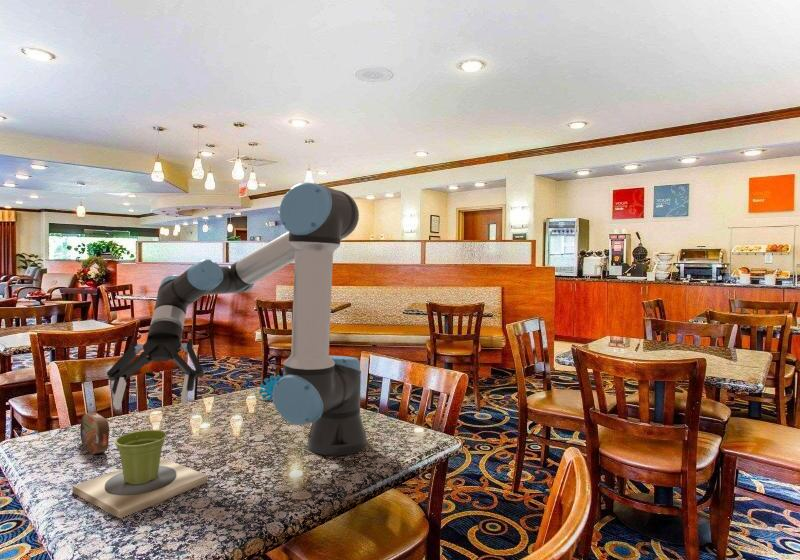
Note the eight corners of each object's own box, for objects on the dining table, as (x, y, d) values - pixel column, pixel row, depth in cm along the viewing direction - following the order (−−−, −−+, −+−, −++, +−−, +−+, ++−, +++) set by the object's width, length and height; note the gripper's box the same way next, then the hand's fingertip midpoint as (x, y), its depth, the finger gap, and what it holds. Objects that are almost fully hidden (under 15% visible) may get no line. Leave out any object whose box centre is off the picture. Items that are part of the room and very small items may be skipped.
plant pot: (118, 473, 101) (118, 432, 101) (167, 466, 105) (167, 427, 105) (111, 492, 93) (111, 448, 92) (165, 484, 96) (165, 442, 96)
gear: (253, 396, 162) (265, 371, 169) (257, 404, 167) (268, 380, 173) (284, 402, 161) (295, 377, 168) (287, 410, 165) (297, 385, 172)
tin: (79, 442, 123) (78, 410, 123) (93, 439, 125) (93, 407, 125) (96, 459, 113) (96, 423, 112) (111, 455, 115) (111, 420, 115)
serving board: (207, 482, 101) (207, 473, 101) (119, 519, 86) (119, 509, 86) (158, 462, 111) (158, 454, 111) (72, 492, 96) (72, 484, 96)
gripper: (220, 335, 125) (212, 409, 111) (115, 338, 120) (92, 416, 105) (217, 317, 120) (208, 392, 106) (107, 319, 114) (81, 399, 100)
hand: (150, 404), depth 106 cm, fingers open, 13 cm apart
